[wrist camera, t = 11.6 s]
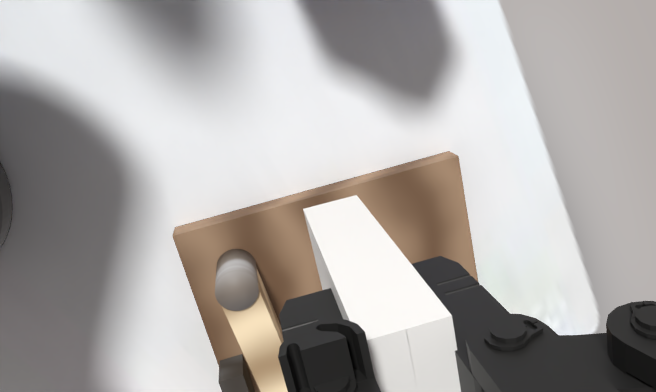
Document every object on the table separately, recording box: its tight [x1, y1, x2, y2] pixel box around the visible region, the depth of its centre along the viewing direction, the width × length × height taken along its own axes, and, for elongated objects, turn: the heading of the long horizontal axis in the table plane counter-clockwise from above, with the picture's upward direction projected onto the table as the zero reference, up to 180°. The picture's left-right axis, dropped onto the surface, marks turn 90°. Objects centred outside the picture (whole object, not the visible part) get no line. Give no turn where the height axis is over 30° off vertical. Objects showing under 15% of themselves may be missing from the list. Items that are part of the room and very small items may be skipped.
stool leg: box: [215, 249, 288, 392], centre depth 43 cm, size 16×3×4 cm, turn 19°
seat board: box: [173, 151, 478, 392], centre depth 46 cm, size 24×20×5 cm
